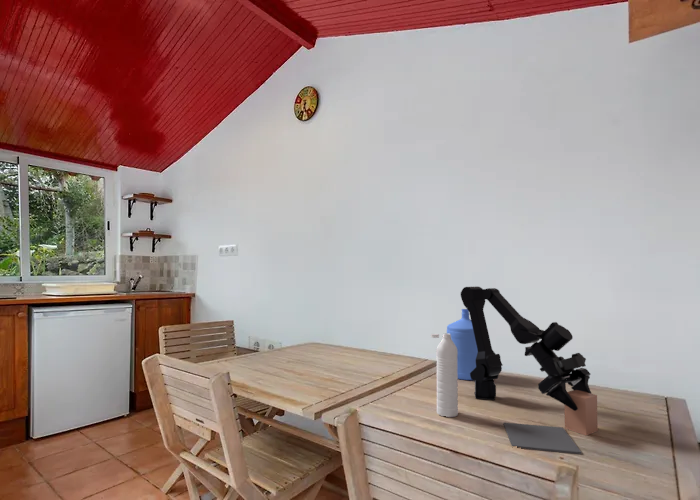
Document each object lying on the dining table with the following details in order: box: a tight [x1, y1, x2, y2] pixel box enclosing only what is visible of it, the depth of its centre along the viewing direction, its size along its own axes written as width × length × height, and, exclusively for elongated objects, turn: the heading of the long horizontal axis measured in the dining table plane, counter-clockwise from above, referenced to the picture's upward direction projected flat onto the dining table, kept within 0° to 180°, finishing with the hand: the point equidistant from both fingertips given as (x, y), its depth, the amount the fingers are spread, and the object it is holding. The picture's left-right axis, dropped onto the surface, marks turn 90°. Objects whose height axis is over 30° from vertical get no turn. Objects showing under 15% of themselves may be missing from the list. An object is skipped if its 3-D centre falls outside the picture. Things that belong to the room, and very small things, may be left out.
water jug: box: [446, 308, 478, 381], centre depth 174 cm, size 16×16×28 cm
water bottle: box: [430, 332, 459, 418], centre depth 128 cm, size 9×6×25 cm
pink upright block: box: [564, 389, 599, 436], centre depth 116 cm, size 6×6×10 cm
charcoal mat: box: [503, 421, 582, 455], centre depth 110 cm, size 16×16×1 cm
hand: (585, 406), depth 115 cm, fingers open, 9 cm apart
